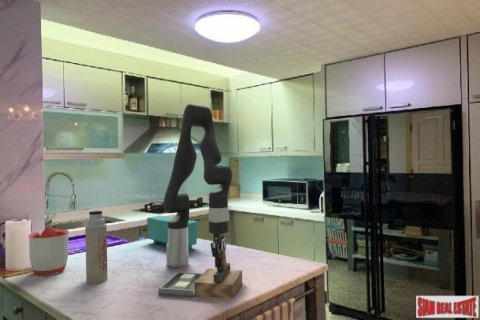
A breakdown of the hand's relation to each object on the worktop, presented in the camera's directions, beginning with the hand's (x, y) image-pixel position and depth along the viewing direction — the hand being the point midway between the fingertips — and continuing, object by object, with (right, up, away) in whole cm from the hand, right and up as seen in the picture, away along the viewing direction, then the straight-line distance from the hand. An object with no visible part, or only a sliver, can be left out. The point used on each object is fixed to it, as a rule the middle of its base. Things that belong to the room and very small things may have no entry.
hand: (219, 265), depth 129 cm
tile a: (-14, -6, -1) cm, 15 cm away
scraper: (+1, -4, 0) cm, 4 cm away
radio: (-30, -9, +66) cm, 73 cm away
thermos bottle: (-51, -10, +12) cm, 53 cm away
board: (0, -9, +1) cm, 9 cm away
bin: (-13, -9, +3) cm, 17 cm away
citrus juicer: (-77, -10, +24) cm, 81 cm away
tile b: (-13, -6, +8) cm, 16 cm away
